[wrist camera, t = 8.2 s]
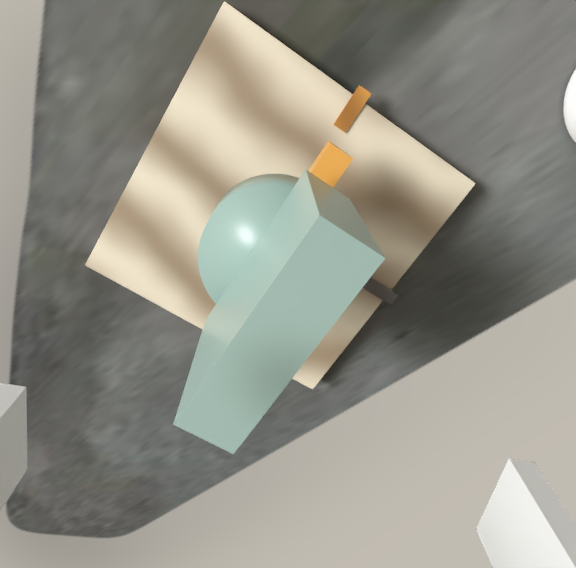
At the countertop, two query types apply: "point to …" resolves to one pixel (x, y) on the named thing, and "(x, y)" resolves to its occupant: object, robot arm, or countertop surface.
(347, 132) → the base
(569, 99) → the jar
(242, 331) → the mint bar with ball
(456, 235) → the countertop surface
